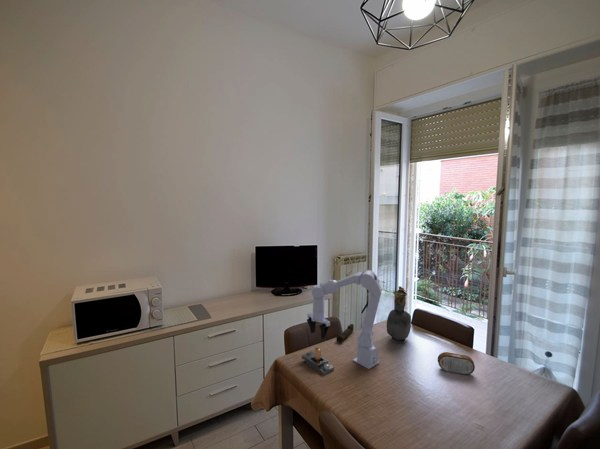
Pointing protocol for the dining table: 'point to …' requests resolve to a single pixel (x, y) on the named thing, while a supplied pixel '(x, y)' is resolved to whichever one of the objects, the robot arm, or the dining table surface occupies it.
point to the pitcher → (399, 318)
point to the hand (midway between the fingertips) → (318, 335)
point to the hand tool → (345, 333)
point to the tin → (456, 363)
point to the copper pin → (317, 355)
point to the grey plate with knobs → (321, 366)
